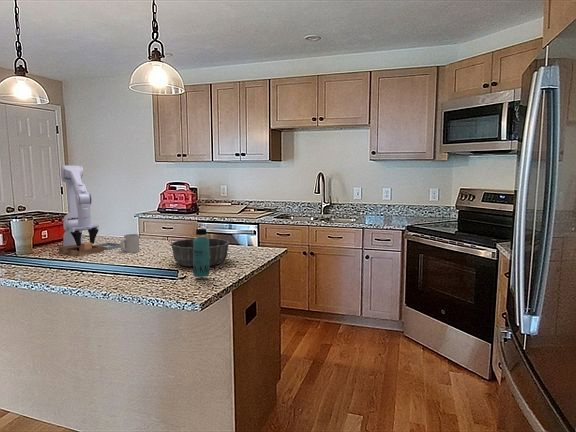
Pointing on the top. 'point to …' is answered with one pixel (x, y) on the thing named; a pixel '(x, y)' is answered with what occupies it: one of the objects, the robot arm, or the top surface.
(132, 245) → the cup
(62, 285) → the top surface
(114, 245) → the dump tray
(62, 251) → the wooden pallet
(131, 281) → the top surface
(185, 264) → the bundt pan
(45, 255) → the top surface
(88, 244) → the stone block
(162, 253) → the top surface
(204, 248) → the beverage bottle
